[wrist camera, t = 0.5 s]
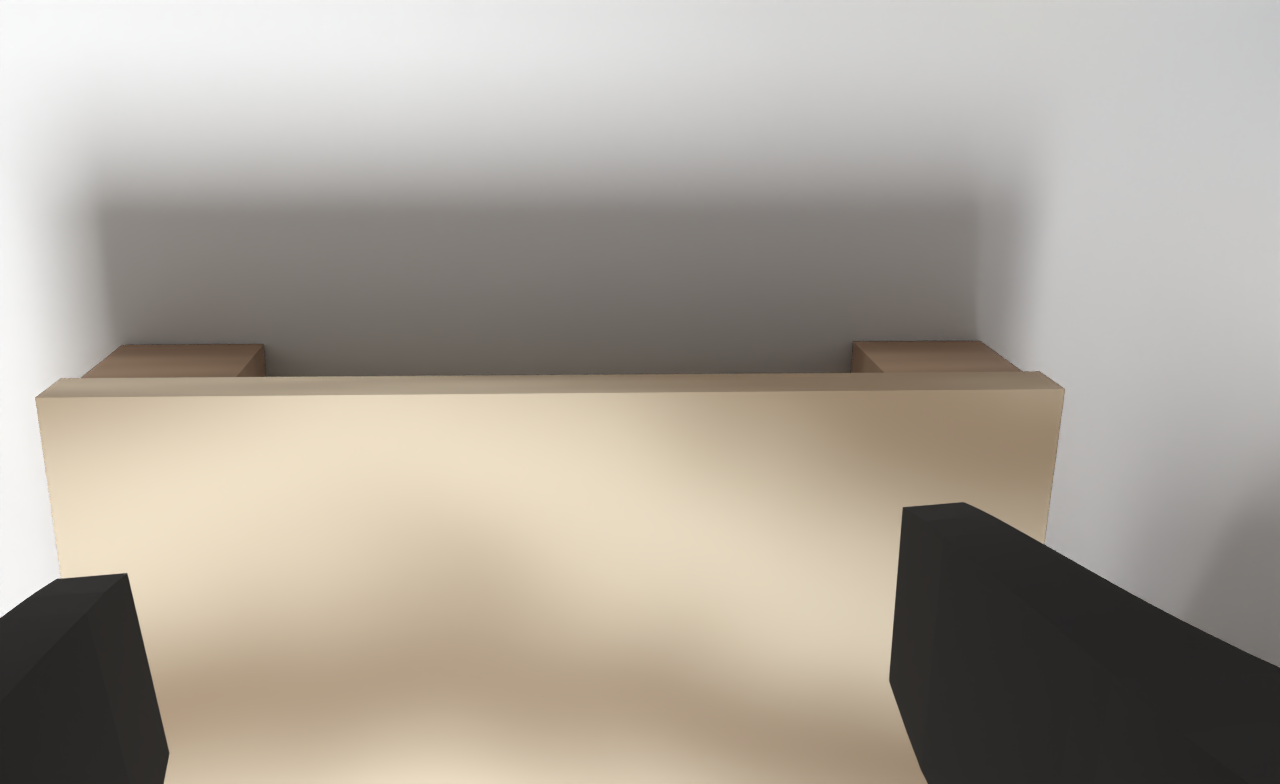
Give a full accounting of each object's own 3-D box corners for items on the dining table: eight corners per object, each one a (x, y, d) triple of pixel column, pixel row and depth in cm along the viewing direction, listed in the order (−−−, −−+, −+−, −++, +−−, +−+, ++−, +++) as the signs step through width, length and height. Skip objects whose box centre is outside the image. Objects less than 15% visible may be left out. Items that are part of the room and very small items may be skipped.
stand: (935, 875, 25) (985, 982, 23) (173, 910, 24) (125, 1030, 21) (995, 340, 22) (1065, 388, 19) (104, 344, 20) (35, 398, 18)
